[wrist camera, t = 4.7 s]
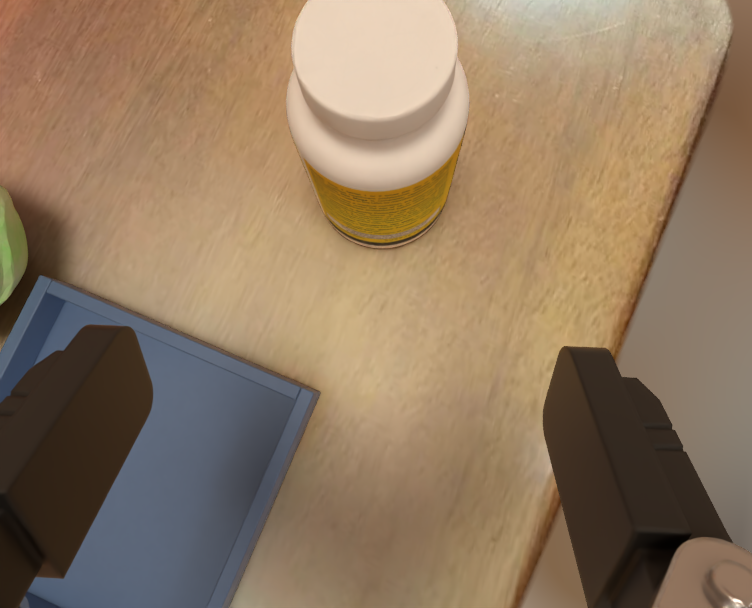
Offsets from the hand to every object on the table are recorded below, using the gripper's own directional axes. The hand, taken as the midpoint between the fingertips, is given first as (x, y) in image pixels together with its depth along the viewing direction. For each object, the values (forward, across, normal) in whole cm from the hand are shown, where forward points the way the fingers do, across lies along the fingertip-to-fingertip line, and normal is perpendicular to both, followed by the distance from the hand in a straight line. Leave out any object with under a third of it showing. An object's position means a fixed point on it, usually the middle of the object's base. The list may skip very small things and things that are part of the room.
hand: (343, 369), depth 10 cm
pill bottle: (+16, 0, +4) cm, 17 cm away
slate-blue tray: (+7, +11, +13) cm, 18 cm away
